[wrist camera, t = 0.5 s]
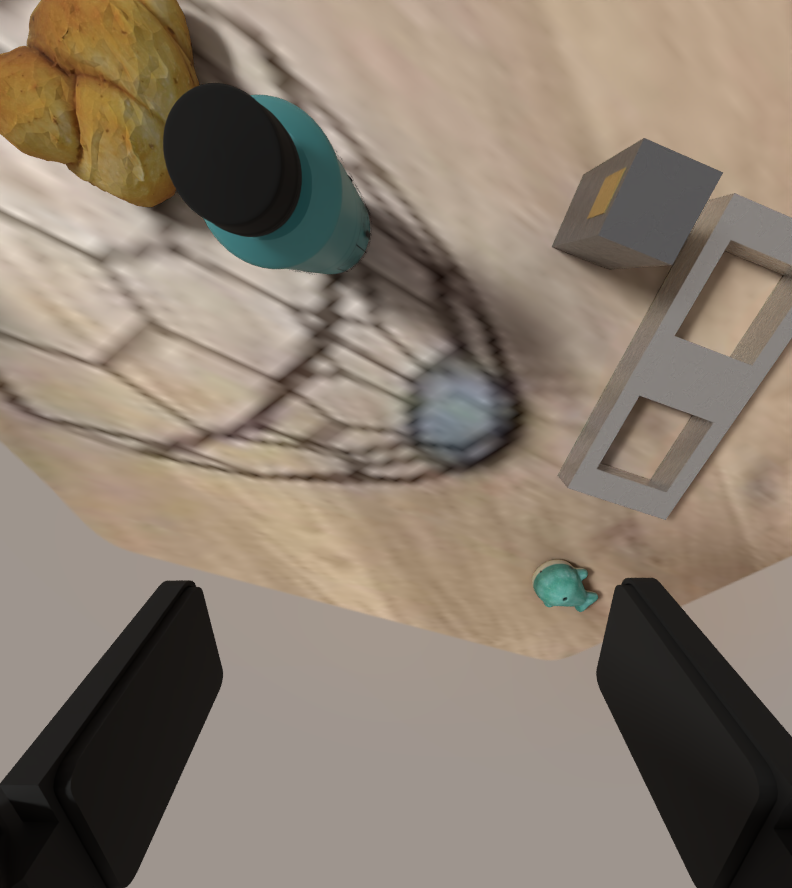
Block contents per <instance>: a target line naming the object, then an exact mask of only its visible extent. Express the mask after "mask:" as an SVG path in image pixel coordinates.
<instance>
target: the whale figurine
mask: <svg viewBox="0 0 792 888" xmlns="http://www.w3.org/2000/svg"><path fill="white" fill-rule="evenodd" d="M587 576H588V572H587V570H586V569H584V568H575V567H573V566H572V565H571V564H570V563H569V562H567V561H564V560H559V559H555V560H550V561H547V562H545V563H543V564H542V565H541V566H540V567H538V568H537V570H536V571H535V572H534V574H533V577H532V584H533V588H534V590H535V592H536V594H537V595H538V597H539V598H540V599H541V600H542V601H543V602H544V604H545V606H547V607H552V606H575V608H576V610H577V611H579V612H582V611H584V610H585V609H586V608H587V607H588V606H589V605H591V604H592V603H594V602H595V601H596V600H597V599H598V595H597V593H595V592H593V591H588V590H585V589H584V586H583V584H582V580H583V579H585V578H586V577H587Z"/></svg>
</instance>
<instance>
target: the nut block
mask: <svg viewBox="0 0 792 888" xmlns="http://www.w3.org/2000/svg"><path fill="white" fill-rule="evenodd" d="M722 174H723V172H721V171H718V170H716V169H714V168H711V167H709V166H707V165H705V164H702V163H700V162H698V161H695V160H693V159H691V158H689V157H686V156H684V155H682V154H679V153H677V152H675V151H673V150H670V149H668V148H666V147H663V146H661V145H659V144H657V143H654V142H652V141H650V140H647V139H645V138H643V139H642V140H640V141H638V142H637V143H635V144H633V145H632V146H630V147H628V148H627V149H625V150H624V151H622V152H620V153H619V154H617V155H615V156H614V157H612V158H610V159H609V160H607V161H605V162H604V163H602V164H600V165H599V166H597V167H595V168H594V169H592V170H590V171H589V172H587V173H585V174H584V175H583V177H582V179H581V181H580V184H579V186H578V188H577V190H576V193H575V195H574V197H573V200H572V202H571V204H570V206H569V209H568V211H567V213H566V216H565V218H564V220H563V222H562V225H561V227H560V229H559V231H558V234H557V236H556V238H555V241H554V243H553V245H552V247H554V248H556V249H559V250H561V251H564V252H566V253H569V254H572V255H574V256H577V257H579V258H582V259H584V260H587V261H589V262H592V263H594V264H597V265H599V266H602V267H604V268H607V269H623V268H638V267H654V266H669V265H673V263H674V261H675V259H676V258H677V256H678V254H679V252H680V250H681V248H682V247H683V245H684V243H685V241H686V239H687V238H688V236H689V234H690V232H691V230H692V228H693V227H694V225H695V223H696V221H697V219H698V217H699V216H700V214H701V212H702V210H703V208H704V207H705V205H706V203H707V201H708V199H709V197H710V196H711V194H712V192H713V190H714V188H715V186H716V185H717V183H718V181H719V179H720V177H721V176H722Z"/></svg>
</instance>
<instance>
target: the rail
mask: <svg viewBox="0 0 792 888" xmlns="http://www.w3.org/2000/svg"><path fill="white" fill-rule="evenodd" d="M724 251H726V252H729V253H731V254H734V255H736V256H739V257H741V258H743V259H746V260H748V261H751V262H753V263H755V264H758V265H760V266H763V267H765V268H767V269H770V270H772V271H775V272H777V273H780V274H782V275H783V277H782V278H781V280H780V281H779V283H778V284H777V286H776V287H775V289H774V290H773V292H772V294H771V295H770V297H769V298H768V300H767V301H766V303H765V304H764V306H763V307H762V309H761V310H760V312H759V314H758V315H757V317H756V318H755V320H754V321H753V323H752V324H751V326H750V327H749V329H748V330H747V332H746V334H745V335H744V337H743V338H742V340H741V341H740V343H739V344H738V346H737V347H736V349H735V351H734V352H733V354H732V355H731V357H728V356H726V355H723V354H720V353H718V352H715V351H713V350H710V349H707V348H705V347H702V346H699V345H697V344H694V343H692V342H689V341H686V340H684V339H681V338H679V337H676V336H675V334H676V333H677V331H678V329H679V327H680V326H681V324H682V322H683V321H684V319H685V317H686V315H687V314H688V312H689V310H690V309H691V307H692V305H693V304H694V302H695V300H696V298H697V297H698V295H699V293H700V292H701V290H702V288H703V286H704V285H705V283H706V281H707V280H708V278H709V276H710V275H711V273H712V271H713V269H714V268H715V266H716V264H717V263H718V261H719V259H720V257H721V256H722V254H723V252H724ZM791 338H792V218H791V217H788V216H786V215H784V214H781V213H779V212H777V211H775V210H772V209H770V208H768V207H765V206H763V205H761V204H758V203H756V202H754V201H751V200H749V199H747V198H745V197H742V196H740V195H738V194H735V193H734V194H730V195H726V196H723V197H719V198H715V199H711V200H709V201H708V203H707V204H706V206H705V208H704V210H703V212H702V214H701V215H700V217H699V219H698V221H697V223H696V224H695V226H694V228H693V230H692V232H691V234H690V235H689V237H688V239H687V241H686V243H685V245H684V246H683V248H682V250H681V252H680V254H679V255H678V257H677V259H676V261H675V263H674V265H673V266H672V268H671V270H670V272H669V274H668V275H667V277H666V279H665V281H664V283H663V285H662V286H661V288H660V290H659V292H658V294H657V295H656V297H655V299H654V301H653V303H652V305H651V306H650V308H649V310H648V312H647V314H646V315H645V317H644V319H643V321H642V323H641V325H640V326H639V328H638V330H637V332H636V334H635V336H634V337H633V339H632V341H631V343H630V345H629V346H628V348H627V350H626V352H625V354H624V356H623V357H622V359H621V361H620V363H619V365H618V366H617V368H616V370H615V372H614V374H613V376H612V377H611V379H610V381H609V383H608V385H607V386H606V388H605V390H604V392H603V394H602V396H601V397H600V399H599V401H598V403H597V405H596V407H595V408H594V410H593V412H592V414H591V416H590V417H589V419H588V421H587V423H586V425H585V427H584V428H583V430H582V432H581V434H580V436H579V437H578V439H577V441H576V443H575V445H574V447H573V448H572V450H571V452H570V454H569V456H568V457H567V459H566V461H565V463H564V465H563V467H562V468H561V470H560V472H559V474H558V477H559V478H560V479H561V480H562V482H563V483H564V484H565V485H566V487H567V488H569V489H572V490H575V491H579V492H582V493H585V494H588V495H591V496H594V497H597V498H600V499H603V500H606V501H609V502H612V503H615V504H618V505H621V506H624V507H627V508H630V509H634V510H637V511H640V512H643V513H646V514H649V515H652V516H655V517H658V518H661V519H664V520H666V518H667V517H668V516H669V514H670V513H671V511H672V510H673V508H674V507H675V505H676V504H677V503H678V501H679V500H680V498H681V497H682V495H683V494H684V492H685V491H686V490H687V488H688V487H689V485H690V484H691V482H692V481H693V480H694V478H695V477H696V475H697V474H698V472H699V471H700V469H701V468H702V467H703V465H704V464H705V462H706V461H707V459H708V458H709V456H710V455H711V454H712V452H713V451H714V449H715V448H716V446H717V445H718V443H719V442H720V441H721V439H722V438H723V436H724V435H725V433H726V432H727V431H728V429H729V428H730V426H731V425H732V423H733V422H734V420H735V419H736V418H737V416H738V415H739V413H740V412H741V410H742V409H743V407H744V406H745V405H746V403H747V402H748V400H749V399H750V397H751V396H752V394H753V393H754V392H755V390H756V389H757V387H758V386H759V384H760V383H761V382H762V380H763V379H764V377H765V376H766V374H767V373H768V371H769V370H770V369H771V367H772V366H773V364H774V363H775V361H776V360H777V358H778V357H779V356H780V354H781V353H782V351H783V350H784V348H785V347H786V345H787V344H788V343H789V341H790V340H791ZM639 396H642V397H645V398H647V399H650V400H653V401H656V402H659V403H661V404H664V405H667V406H670V407H672V408H675V409H678V410H681V411H683V412H686V413H689V414H692V417H691V418H690V420H689V421H688V423H687V424H686V426H685V428H684V429H683V431H682V432H681V434H680V435H679V437H678V438H677V440H676V441H675V443H674V444H673V446H672V448H671V449H670V451H669V452H668V454H667V455H666V457H665V458H664V460H663V461H662V463H661V464H660V466H659V468H658V469H657V471H656V472H655V474H654V475H653V477H652V478H651V480H650V479H647V478H644V477H641V476H638V475H635V474H632V473H629V472H626V471H623V470H620V469H617V468H614V467H611V466H608V465H605V464H602V463H600V462H601V461H602V459H603V457H604V455H605V454H606V452H607V450H608V449H609V447H610V445H611V443H612V442H613V440H614V438H615V437H616V435H617V433H618V432H619V430H620V428H621V426H622V425H623V423H624V421H625V420H626V418H627V416H628V414H629V413H630V411H631V409H632V408H633V406H634V404H635V403H636V401H637V399H638V397H639Z"/></svg>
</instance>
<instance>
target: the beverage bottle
mask: <svg viewBox="0 0 792 888" xmlns="http://www.w3.org/2000/svg"><path fill="white" fill-rule="evenodd" d="M163 152H164V159H165V163H166V167H167V170H168V173H169V176H170V178H171V180H172V183H173V185H174V186H175V188H176V190H177V192H178V193H179V195H180V196H181V197H182V199H183V200H184V201H185V202H186V204H187V205H188V206H189V207H190V208H191V209H192V210H193V211H194V212H196V213H197V214H198V215H200V216H201V217H202V218H203V219H204V220H205V222H206V224H207V226H208V228H209V229H210V230H211V232H212V233H213V235H214V236H215V237H216V238H217V240H218V241H219V242H220V243H221V244H222V245H223V246H224V247H225V248H226V249H227V250H228V251H229V252H231V253H232V254H234V255H235V256H236V257H238V258H240V259H241V260H243V261H245V262H247V263H250V264H252V265H255V266H258V267H262V268H268V269H291V270H292V269H294V270H295V271H297V270H301V271H303V272H304V271H306V272H307V273H308V272H309V273H310V272H314V273H322V274H337V273H341V272H344V271H346V270H348V269H350V268H351V267H352V266H353V268H354V265H355V264H357V263H358V262H359V260H360V258H361V257H362V256H363V254H364V252H365V253H366V251H365V250H366V248H367V245H368V242H369V240H370V239H371V238H370V234H371V233H370V221H369V216H368V213H369V209H368V208H367V206H366V204H365V205H364V203H363V201H362V200H361V198H360V196H359V194H358V192H357V191H356V190H357V189H358V188H357V189H356V188H355V187H354V185H353V184H352V181H353V180H352V179H351V178H350V177H349V175H347V173H346V171H345V169H344V168H343V166H342V164H341V163H340V161H339V160H338V159H337V156H336V153H335V151H334V149H333V147H332V145H331V143H330V142H329V140H328V138H327V136H326V135H325V134H324V132H323V131H322V129H321V128H320V127H319V126H318V124H317V123H316V122H315V121H314V120H313V119H312V118H311V117H310V116H309V115H308V114H307V113H306V112H304V111H303V110H301V109H300V108H299V107H297V106H296V105H294V104H292V103H290V102H288V101H286V100H283V99H280V98H277V97H273V96H268V95H249V94H247V93H246V92H244V91H242V90H240V89H238V88H236V87H233V86H230V85H226V84H220V83H208V84H203V85H200V86H197V87H194V88H192V89H190V90H189V91H187V92H186V93H185V94H183V95H182V96H181V97H180V98H179V99H178V100H177V101H176V103H175V104H174V105H173V107H172V109H171V111H170V112H169V114H168V117H167V120H166V123H165V127H164V134H163ZM336 152H337V151H336ZM341 160H342V158H341ZM351 177H352V175H351ZM354 184H355V183H354ZM356 186H357V185H356ZM358 191H359V190H358ZM361 196H362V195H361ZM362 197H363V196H362ZM362 199H363V198H362ZM367 211H368V213H367ZM369 215H370V214H369ZM371 227H372V224H371ZM370 242H371V241H370ZM370 242H369V243H370ZM363 258H364V257H363ZM361 259H362V258H361ZM360 262H361V260H360ZM351 269H352V268H351ZM294 270H293V271H294ZM346 272H348V271H346ZM301 273H302V272H301ZM310 274H311V273H310Z"/></svg>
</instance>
